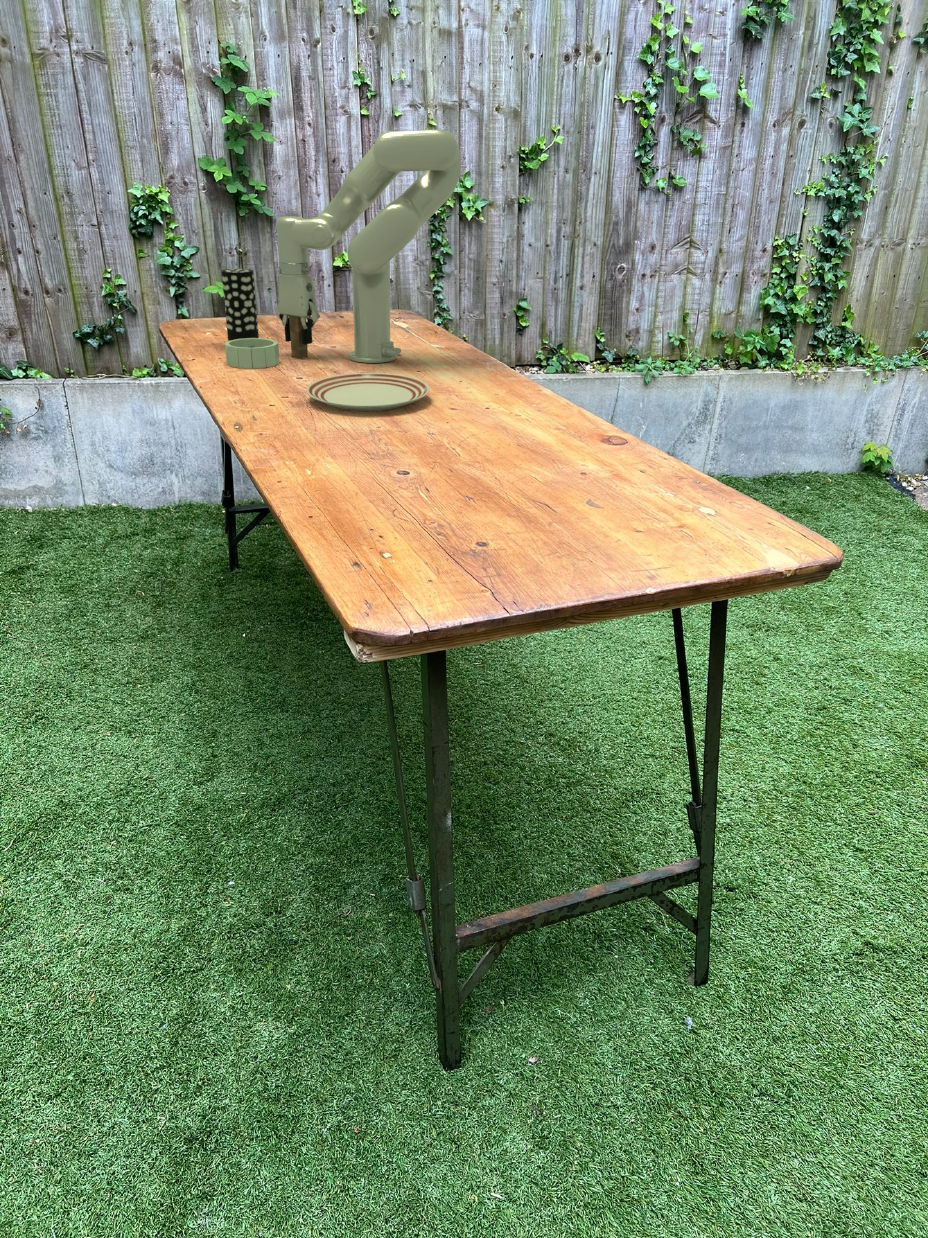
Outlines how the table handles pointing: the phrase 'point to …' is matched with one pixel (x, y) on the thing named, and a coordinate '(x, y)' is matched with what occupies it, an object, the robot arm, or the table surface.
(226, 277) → the white-spotted black cylinder
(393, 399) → the dinner plate
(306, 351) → the wooden rectangular post
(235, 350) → the green faceted socket ring
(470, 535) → the table surface
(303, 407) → the table surface
